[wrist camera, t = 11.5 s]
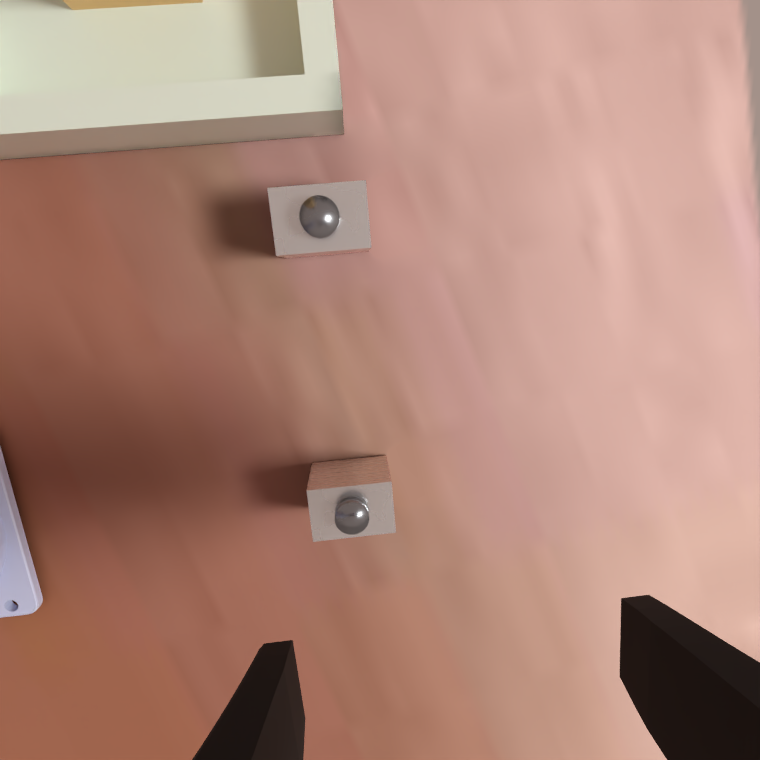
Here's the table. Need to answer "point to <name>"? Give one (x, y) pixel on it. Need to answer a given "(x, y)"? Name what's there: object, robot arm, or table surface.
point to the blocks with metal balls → (316, 238)
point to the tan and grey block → (121, 3)
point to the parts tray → (165, 75)
